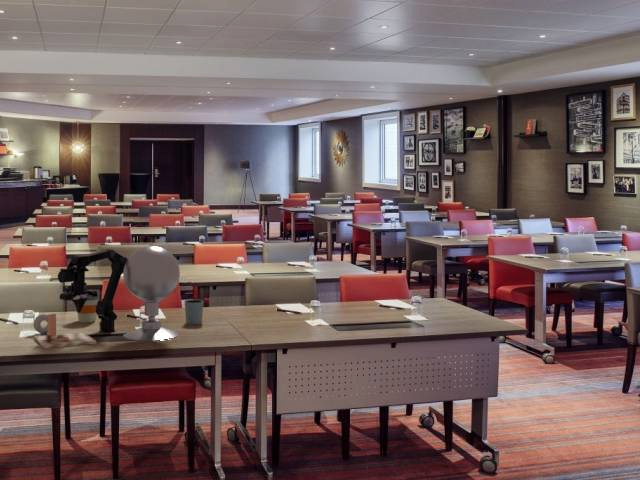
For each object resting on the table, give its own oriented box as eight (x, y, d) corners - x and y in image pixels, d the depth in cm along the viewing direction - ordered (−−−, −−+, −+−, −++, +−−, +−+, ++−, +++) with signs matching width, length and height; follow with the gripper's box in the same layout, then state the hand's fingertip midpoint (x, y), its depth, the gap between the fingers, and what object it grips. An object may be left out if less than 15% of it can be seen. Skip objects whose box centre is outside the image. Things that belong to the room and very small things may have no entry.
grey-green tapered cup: (205, 321, 463) (205, 299, 462) (200, 325, 453) (201, 302, 452) (187, 320, 464) (187, 299, 463) (182, 324, 454) (182, 302, 453)
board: (83, 334, 422) (83, 326, 422) (96, 343, 404) (96, 334, 403) (34, 338, 410) (34, 330, 410) (44, 348, 391) (44, 339, 391)
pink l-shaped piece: (68, 339, 403) (68, 316, 402) (58, 341, 399) (58, 317, 398) (54, 336, 410) (53, 312, 409) (44, 337, 406) (43, 314, 405)
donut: (33, 334, 419) (33, 315, 418) (33, 333, 422) (33, 313, 421) (54, 333, 423) (54, 313, 422) (54, 332, 426) (53, 312, 425)
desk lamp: (124, 341, 408) (124, 249, 404) (122, 330, 435) (122, 243, 431) (182, 339, 416) (182, 248, 411) (176, 328, 442) (176, 243, 438)
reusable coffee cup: (95, 323, 450) (95, 295, 449) (72, 322, 451) (72, 295, 449) (102, 319, 463) (102, 292, 461) (79, 318, 463) (79, 291, 462)
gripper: (84, 277, 428) (84, 307, 430) (52, 281, 414) (52, 312, 415) (98, 279, 422) (98, 310, 423) (66, 283, 407) (66, 315, 408)
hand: (79, 312), depth 418 cm, fingers closed
